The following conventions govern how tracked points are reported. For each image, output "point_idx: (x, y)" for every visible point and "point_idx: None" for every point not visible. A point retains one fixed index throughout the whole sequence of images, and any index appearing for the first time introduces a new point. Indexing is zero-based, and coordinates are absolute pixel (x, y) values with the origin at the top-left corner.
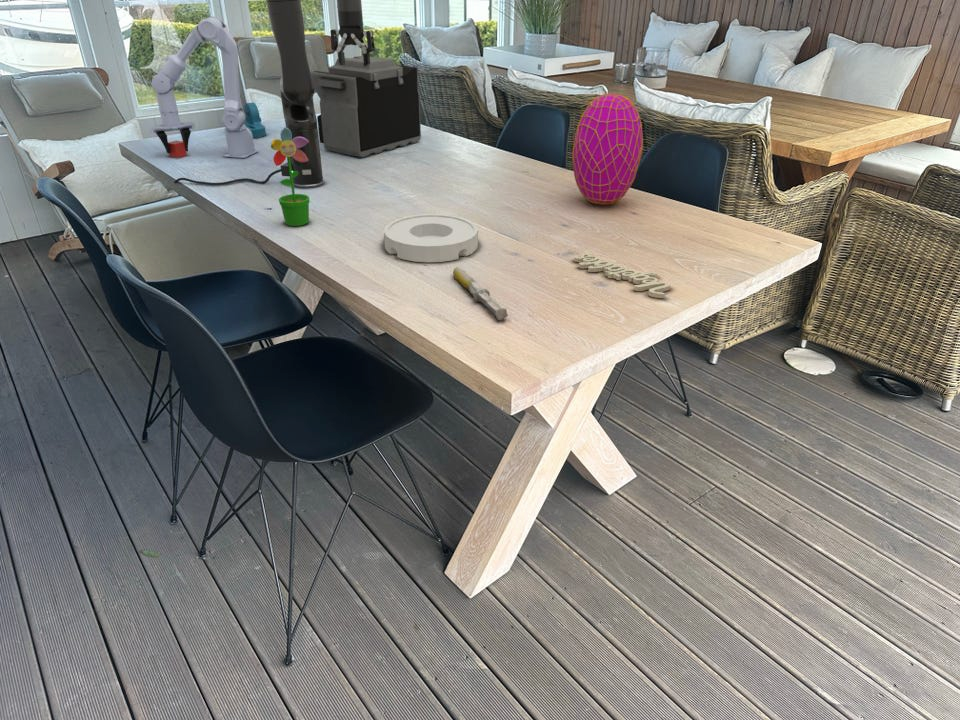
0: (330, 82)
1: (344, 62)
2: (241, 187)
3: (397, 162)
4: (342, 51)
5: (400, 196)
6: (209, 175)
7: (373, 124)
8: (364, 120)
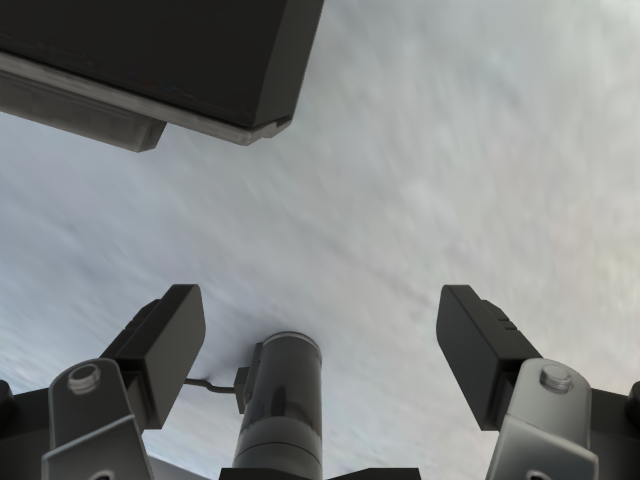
0: (40, 122)
1: (193, 301)
2: (181, 410)
3: (415, 113)
4: (136, 393)
5: None
6: (56, 372)
7: (310, 27)
8: (293, 85)
